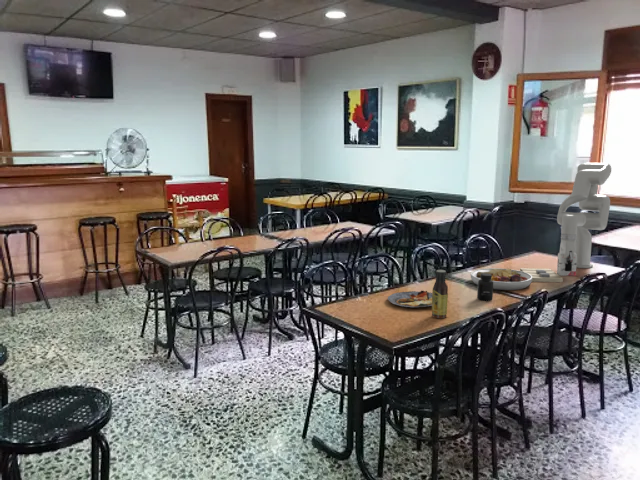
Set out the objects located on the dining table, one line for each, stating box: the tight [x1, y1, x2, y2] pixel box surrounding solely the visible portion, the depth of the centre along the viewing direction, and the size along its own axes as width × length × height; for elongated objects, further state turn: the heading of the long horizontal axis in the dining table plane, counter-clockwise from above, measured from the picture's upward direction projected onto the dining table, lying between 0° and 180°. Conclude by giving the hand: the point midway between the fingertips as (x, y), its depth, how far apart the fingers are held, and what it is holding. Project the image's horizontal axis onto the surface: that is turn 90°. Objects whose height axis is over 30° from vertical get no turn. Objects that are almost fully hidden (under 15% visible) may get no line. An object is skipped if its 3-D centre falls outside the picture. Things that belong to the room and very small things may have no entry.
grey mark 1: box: [536, 270, 546, 274], centre depth 274 cm, size 4×4×2 cm
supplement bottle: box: [476, 273, 494, 302], centre depth 235 cm, size 7×7×12 cm
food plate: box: [387, 290, 432, 308], centre depth 233 cm, size 25×23×4 cm
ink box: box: [556, 252, 577, 277], centre depth 278 cm, size 9×5×12 cm, turn 84°
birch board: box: [519, 267, 564, 283], centre depth 275 cm, size 22×16×2 cm
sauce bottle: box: [431, 269, 449, 319], centre depth 211 cm, size 6×6×20 cm
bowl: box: [470, 267, 533, 291], centre depth 263 cm, size 30×30×8 cm
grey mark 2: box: [539, 273, 550, 277], centre depth 268 cm, size 4×4×2 cm
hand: (566, 269), depth 279 cm, fingers closed on ink box, 5 cm apart
